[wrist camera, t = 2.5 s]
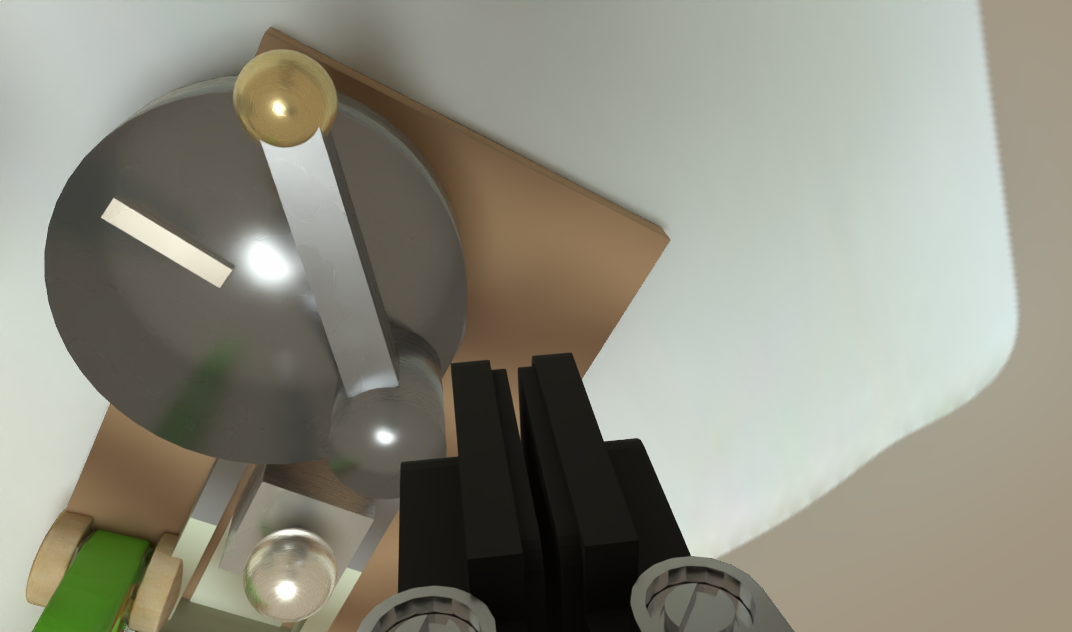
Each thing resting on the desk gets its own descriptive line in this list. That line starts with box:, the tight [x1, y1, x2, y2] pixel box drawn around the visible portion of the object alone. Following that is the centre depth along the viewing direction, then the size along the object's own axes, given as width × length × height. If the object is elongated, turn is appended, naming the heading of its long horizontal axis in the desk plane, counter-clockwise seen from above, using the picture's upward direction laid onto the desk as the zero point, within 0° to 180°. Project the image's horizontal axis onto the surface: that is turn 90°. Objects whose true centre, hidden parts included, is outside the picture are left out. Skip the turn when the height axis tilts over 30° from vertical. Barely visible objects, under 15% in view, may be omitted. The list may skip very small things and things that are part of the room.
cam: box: [45, 49, 468, 499], centre depth 25 cm, size 12×13×8 cm
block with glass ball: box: [218, 458, 375, 623], centre depth 30 cm, size 4×4×6 cm
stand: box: [66, 27, 670, 632], centre depth 32 cm, size 23×15×5 cm, turn 151°
